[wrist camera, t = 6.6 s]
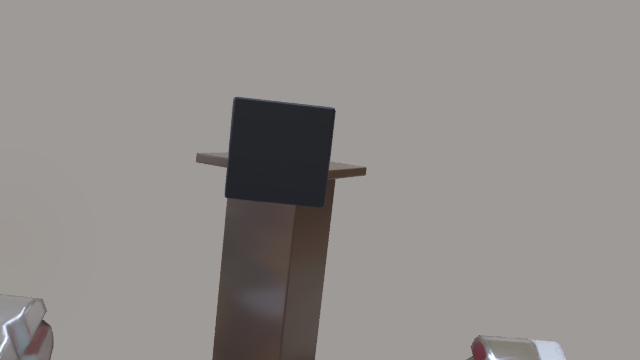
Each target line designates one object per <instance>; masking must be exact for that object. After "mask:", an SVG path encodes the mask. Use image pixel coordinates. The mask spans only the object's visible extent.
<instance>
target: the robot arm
mask: <svg viewBox="0 0 640 360" xmlns="http://www.w3.org/2000/svg"><path fill="white" fill-rule="evenodd" d="M45 313H46V307H45V304H44V302H43V299H38V298H28V297H20V296H11V295H2V294H0V360H50V358H51V354H52V349H53V332H52V328H51V326H50V325H49V324H47V323H46V322H45V321H44V320H42V319H43V317H44V315H45ZM471 349H472V354H473V356H472V357H470V358H469V359H467V360H566V357H565V354H564V352H563V350H562V347H561V346H560V345H559V344H558V343H557V342H552V341H539V340H528V339H522V338H507V337H495V336H481V335H479V336H478V337H476V338H475V339H474V341H473V343H472V346H471Z"/></svg>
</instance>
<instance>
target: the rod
mask: <svg viewBox="0 0 640 360" xmlns="http://www.w3.org/2000/svg"><path fill="white" fill-rule="evenodd" d="M335 112H336V111H335V109H334V108H331V107H322V106H313V105H304V104H296V103H287V102H278V101H269V100H260V99H251V98H243V97H242V98H241V97H235V98H234V99H233V109H232V120H231V131H230V142H229V153H228V163H227V175H226V185H225V197H226V198H230V199H239V200H249V201H259V202H269V203H279V204H288V205H298V206H308V207H318V208H323V207H324V206H325V200H326V191H327V182H328V173H329V165H330V156H331V146H332V138H333V129H334V120H335Z"/></svg>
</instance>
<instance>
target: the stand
mask: <svg viewBox="0 0 640 360" xmlns="http://www.w3.org/2000/svg"><path fill="white" fill-rule="evenodd" d="M196 162H198V163H204V164H209V165H215V166H221V167H227V163H228V153H197V156H196ZM365 174H366V167H362V166H355V165H348V164H342V163H335V162H330V165H329V173H328V182H327V191H326V200H325V206H324V207H323V208H318V207H308V206H298V205H288V204H279V203H269V202H259V201H249V200H239V199H230V198H227V207H226V218H225V229H224V240H223V252H222V262H221V272H220V283H219V294H218V305H217V316H216V327H215V338H214V348H213V359H212V360H315V352H316V343H317V335H318V326H319V318H320V309H321V300H322V291H323V282H324V274H325V265H326V257H327V247H328V239H329V231H330V222H331V213H332V204H333V196H334V187H335V179H338V178H347V177H355V176H364V175H365Z"/></svg>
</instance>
